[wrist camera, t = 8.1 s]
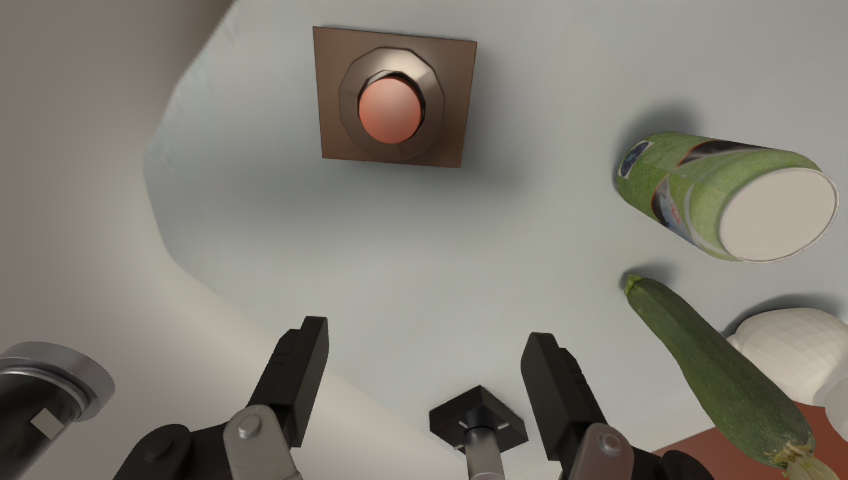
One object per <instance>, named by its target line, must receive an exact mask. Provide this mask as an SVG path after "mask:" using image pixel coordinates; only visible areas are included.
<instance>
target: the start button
mask: <svg viewBox="0 0 848 480" xmlns="http://www.w3.org/2000/svg"><path fill="white" fill-rule="evenodd" d="M359 115H360V119H361V122H362V125H363V126H364V128H365V130H366V131H367V132H368V133H369V134H370V135H371V136H372V137H373V138H375V139H376V140H378V141H381V142H384V143H392V144H393V143H399V142H402V141H404V140H406V139H408V138H409V137H410V136H411V135H412V134H413V133H414V132H415V131H416V129H417V127H418V125H419V122H420V117H421V104H420V99H419V96H418V94H417V92H416V90H415V89H414V87H413V86H412V85H411V84H410V83H409V82H407V81H406V80H404V79H402V78H400V77H396V76H385V77H382V78H379V79H377V80H376V81H374V82H373V83H371V84H370V85H369V86H368V87H367V88H366V89H365V91H364V92H363V94H362V96H361V99H360V103H359Z"/></svg>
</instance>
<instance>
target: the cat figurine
mask: <svg viewBox="0 0 848 480" xmlns="http://www.w3.org/2000/svg"><path fill="white" fill-rule="evenodd" d="M726 340H727V341H728V342H729V343H730V344H731V345H732V346H733V347H735V348H736V349H737V350H738V351H739V352H740V353H741V354H742V355H744V356H745V357H746V358H747V359H749V360H750V361H751V362H752V363H753V364H754V365H755V366H756V367H757V368H758V369H759V370H760V371H761V372H763V373H764V374H765V375H766V376H767V377H768V378H769V379H770V380H771V381H773V382H774V383H775V384H776V385H777V386H778V387H779V388H780V389H781V390H782V391H783V392H784V393H785V394H786V395H787V396H788V397H789V398H790V399H792V400H795V401H797V402H800V403H804V404H808V405H813V406H822V407H825V410H826V416H827V417H828V419H829V421H830V423H831V425H832V426H833V428H834V429H835V430H836V431H837V432H838V433H839V435H840V436H841V437H842V438H843V439H844V440H846V441H847V442H848V326H847V325H846V324H844V323H843V322H841V321H840V320H838V319H837V318H836V317H834V316H832V315H830V314H828V313H826V312H824V311H822V310H817V309H812V308H789V309H780V310H773V311H768V312H763V313H760V314H757V315H754V316H752V317H750V318H747V319H746V320H745V321H743V322H742V323H741V324H740V325H739V327H738V329H737V330H736V333H735V334H733V335H731V336H729V337H727V338H726Z"/></svg>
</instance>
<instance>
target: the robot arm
mask: <svg viewBox="0 0 848 480" xmlns="http://www.w3.org/2000/svg"><path fill="white" fill-rule="evenodd" d="M328 352H329V337H328V321H327V317H317V316H306V317H305V319H304V321H303V324H302V326H301V328H300V330H299V329H290V330H289V331H287V332H286V333H285V334H284V335H283V336H282V337H281V338H280V339H279V341H278V343H277V345H276V347H275V349H274V352H273V354H272V355H271V357H270V360H269V363H268V364H267V366H266V368H265V370H264V372H263V374H262V376H261V378H260V380H259V382H258V384H257V386H256V388H255V390H254V392H253V394H252V397H251V398H250V401H249V402H248V404H247V406H246V407H245V408H244V409H242V410H241V411H239V412H238V413H236V414H235V415H234V416H233V417H232V418H231V419H230V420H229V421H227V422H225V423H223V424H221V425H217V426H213V427H209V428H205V429H202V430H197V431H193V432H190V431H189V429H188V428H187V427H185V426H184V425H181V424H169V425H165V426H162V427H159V428H157V429H155V430H154V431H152V432H150V433H149V434H147V435H146V436H145V437H143V438H142V439H141V440H140V441H139V442H138V443H137V444H136V445H135V447H134V448H133V449H132V451H131V452H130V454H129V455H128V457H127V458H126V460H125V461H124V463H123V465H122V466H121V468H120V469H119V471H118V472H117V474H116V475H115V477H114V478H113V480H303V478H302V476H301V474H300V472H298V470H297V469H296V466H295V464H294V461H293V459H292V456H291V453H290V449H291V447H301V444H302V441H303V438H304V435H305V431H306V428H307V425H308V421H309V418H310V415H311V411H312V408H313V405H314V402H315V398H316V395H317V392H318V388H319V385H320V382H321V378H322V375H323V372H324V369H325V365H326V362H327V358H328ZM521 373H522V377H523V380H524V383H525V386H526V390H527V393H528V396H529V399H530V403H531V406H532V409H533V412H534V416H535V419H536V422H537V425H538V429H539V432H540V435H541V438H542V442H543V445H544V448H545V451H546V455H547V458H548V460H550V461H560V463H561V466H562V469H563V470H562V472H561V474H560V476H559V479H558V480H714V478H713V477H712V475H711V474H710V473H709V471H708V470H707V469H706V468H705V467H704V466H703V465H702V464H701V463H700V462H699V461H697V460H696V459H695V458H693V457H692V456H690V455H688V454H686V453H684V452H681V451H677V450H670V451H667V452H666V453H665V454H664V455H663V456H662V457H660V456H657V455H654V454H652V453H649V452H646V451H644V450H641V449H638V448H636V447H633V446H631V445H630V443H629V442H628V440H627V439H626V438H625V437H624V436H623V435H622V434H621V433H620V432H619V431H618V430H616V429H615V428H613V427H611V426H609V425H608V423H607V421H606V419H605V417H604V415H603V413H602V411H601V409H600V407H599V405H598V403H597V401H596V399H595V397H594V395H593V393H592V391H591V389H590V387H589V385H588V384H587V381H586V379H585V377H584V375H583V374H582V371H581V369H580V367H579V365H578V363H577V361H576V359H575V358H574V357H573V356H572V355H571V354H570V353H569V352H568V350H567V349H566V348H559V346H558V344H557V342H556V340H555V338H554V336H553V335H552V334H551V333H538V332H532V333H531V334H530V336H529V338H528V341H527V344H526V347H525V349H524V352H523V355H522V358H521ZM87 407H88V400H87V397H86V396H85V394H84V393H83V391H82V390H81V389H80V388H79V387H77V386H76V385H75V384H74V383H72V382H71V381H69V380H67V379H66V378H64V377H62V376H60V375H57V374H55V373H52V372H50V371H47V370H43V369H40V368H35V367H29V366H10V367H6V368H3V369H1V370H0V480H20V479H21V478H22V477H23V476H24V475H25V473H27V471H28V470H29V469H30V468H31V467H32V466H33V465H34V464H35V463H36V462H37V461H38V460H39V459H40V457H41V456H42V455H43V454H44V453H45V452H46V451H47V450H48V449H49V448H50V447H51V446H52V445H53V443H54V442H55V441H56V440H57V439H58V438H59V437H60V436H61V435H62V434H63V433H64V432H65V431H66V429H67V428H68V427H69V426H70V425H71V424H72V423H73V422H74V421H75V420H76V419H78V418H79V417H80V416H81V415H82V414H83V413H84V411H85V410H86V409H87Z"/></svg>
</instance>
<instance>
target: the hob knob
mask: <svg viewBox="0 0 848 480" xmlns="http://www.w3.org/2000/svg"><path fill="white" fill-rule="evenodd" d="M464 441H465V450H466V459H467V467H468V476H469V480H505V475H504V470H503V465H502V460H501V455H500V450H499V445H498V440H497V435H496V433H495V431H493V430H492V429H490V428H485V427H479V428H474V429H471V430H469V431H468V432H467V433H466V434H465V436H464Z"/></svg>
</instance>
